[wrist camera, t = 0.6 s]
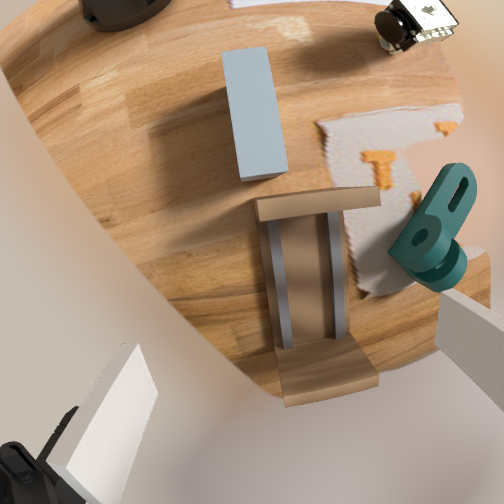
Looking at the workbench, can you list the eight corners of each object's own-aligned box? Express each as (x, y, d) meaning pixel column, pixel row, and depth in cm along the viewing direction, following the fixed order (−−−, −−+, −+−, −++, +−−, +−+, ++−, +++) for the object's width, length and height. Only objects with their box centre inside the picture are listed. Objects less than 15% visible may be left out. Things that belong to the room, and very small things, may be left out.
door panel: (226, 86, 29) (221, 51, 20) (260, 81, 29) (265, 46, 20) (241, 182, 31) (240, 177, 22) (276, 177, 31) (288, 171, 22)
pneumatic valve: (353, 40, 27) (390, -5, 16) (406, 26, 26) (446, -9, 14) (377, 72, 28) (424, 35, 17) (427, 54, 27) (473, 25, 15)
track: (253, 198, 32) (256, 200, 21) (337, 187, 31) (378, 186, 21) (275, 352, 36) (285, 407, 25) (347, 338, 36) (378, 386, 25)
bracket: (414, 280, 34) (447, 299, 27) (386, 252, 33) (419, 267, 26) (472, 186, 32) (508, 188, 24) (449, 154, 31) (485, 150, 23)
